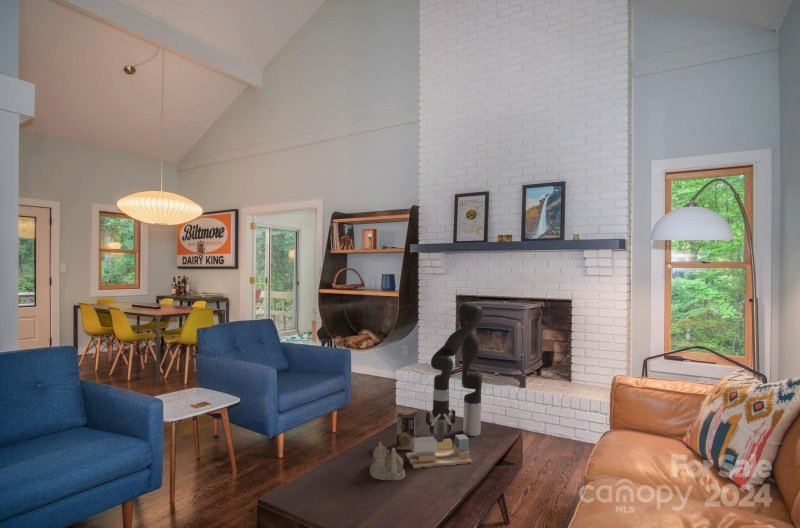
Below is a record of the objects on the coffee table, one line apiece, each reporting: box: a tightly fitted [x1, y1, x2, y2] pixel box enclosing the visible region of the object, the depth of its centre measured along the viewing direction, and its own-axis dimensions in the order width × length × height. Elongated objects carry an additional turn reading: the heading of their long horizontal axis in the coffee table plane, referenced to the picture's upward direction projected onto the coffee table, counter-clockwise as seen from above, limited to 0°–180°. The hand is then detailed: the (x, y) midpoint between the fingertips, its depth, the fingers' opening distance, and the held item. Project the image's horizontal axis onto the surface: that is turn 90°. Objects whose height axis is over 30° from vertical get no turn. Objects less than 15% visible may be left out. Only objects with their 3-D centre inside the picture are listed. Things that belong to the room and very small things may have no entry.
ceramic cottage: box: [369, 441, 406, 481], centre depth 199 cm, size 16×16×15 cm
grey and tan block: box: [410, 436, 437, 463], centre depth 210 cm, size 10×11×9 cm
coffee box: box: [395, 412, 416, 451], centre depth 225 cm, size 9×6×16 cm
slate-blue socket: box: [453, 433, 471, 459], centre depth 214 cm, size 8×5×9 cm, turn 13°
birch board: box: [405, 448, 473, 469], centre depth 212 cm, size 14×28×1 cm, turn 103°
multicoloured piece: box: [435, 420, 453, 450], centre depth 211 cm, size 3×16×12 cm, turn 103°
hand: (440, 432), depth 212 cm, fingers open, 7 cm apart
